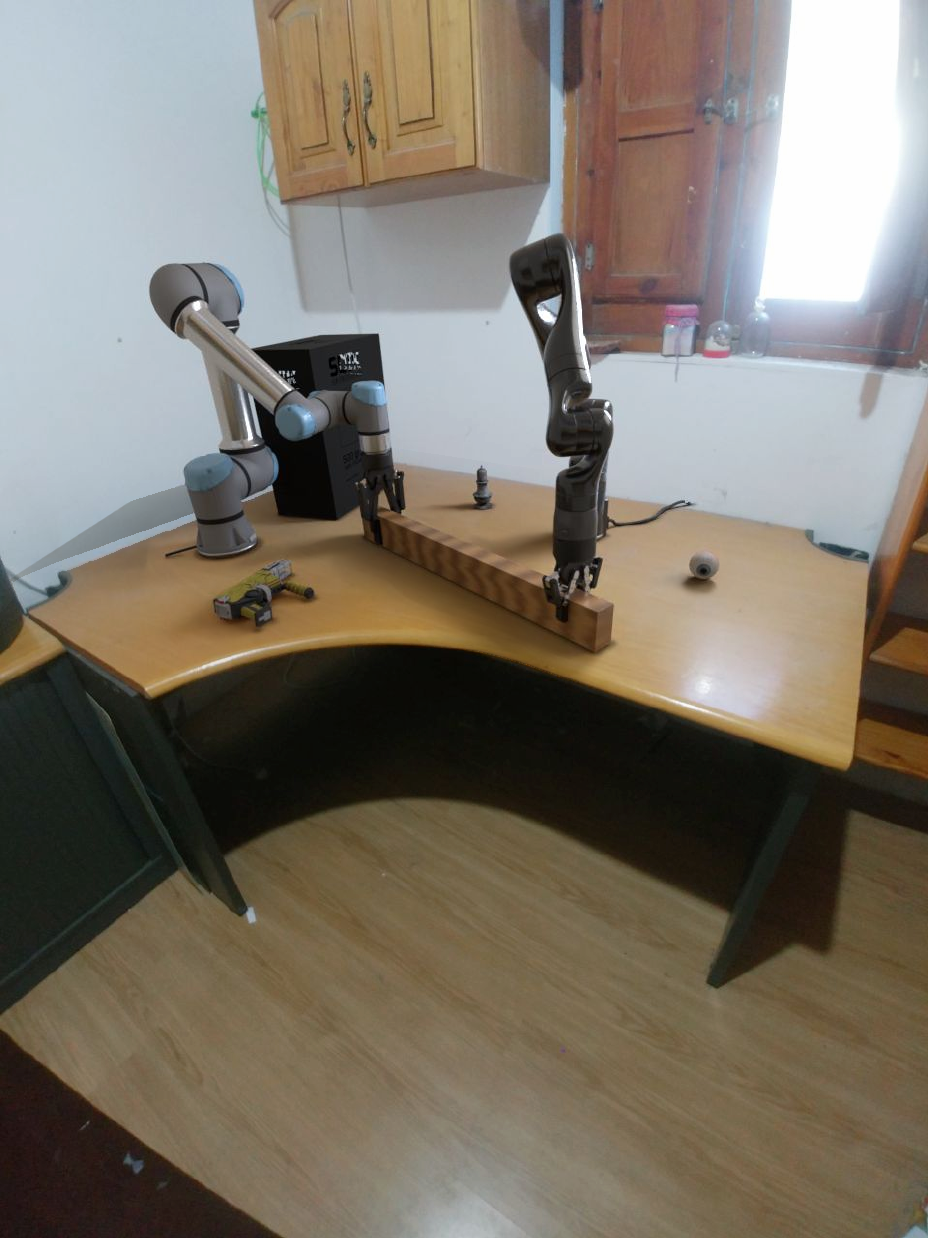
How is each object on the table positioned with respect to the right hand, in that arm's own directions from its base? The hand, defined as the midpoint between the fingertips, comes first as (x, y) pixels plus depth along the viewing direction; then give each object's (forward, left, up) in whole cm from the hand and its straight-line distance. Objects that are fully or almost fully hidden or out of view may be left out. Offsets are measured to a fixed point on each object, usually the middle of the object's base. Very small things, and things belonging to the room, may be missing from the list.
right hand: (571, 615), depth 112 cm
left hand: (+19, -60, -3) cm, 63 cm away
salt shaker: (-13, -73, -4) cm, 74 cm away
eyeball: (-36, -7, -4) cm, 37 cm away
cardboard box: (+23, -104, -4) cm, 106 cm away
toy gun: (+50, -40, -4) cm, 64 cm away
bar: (+10, -30, -4) cm, 31 cm away
